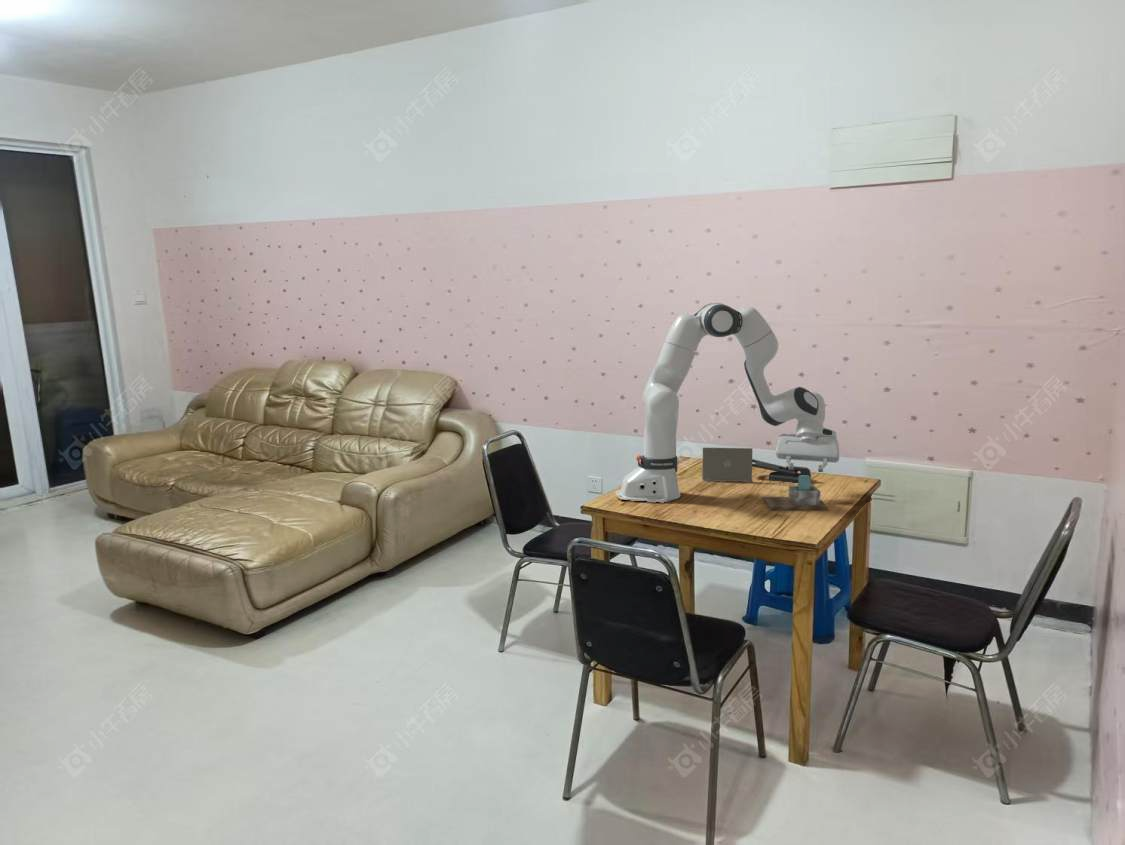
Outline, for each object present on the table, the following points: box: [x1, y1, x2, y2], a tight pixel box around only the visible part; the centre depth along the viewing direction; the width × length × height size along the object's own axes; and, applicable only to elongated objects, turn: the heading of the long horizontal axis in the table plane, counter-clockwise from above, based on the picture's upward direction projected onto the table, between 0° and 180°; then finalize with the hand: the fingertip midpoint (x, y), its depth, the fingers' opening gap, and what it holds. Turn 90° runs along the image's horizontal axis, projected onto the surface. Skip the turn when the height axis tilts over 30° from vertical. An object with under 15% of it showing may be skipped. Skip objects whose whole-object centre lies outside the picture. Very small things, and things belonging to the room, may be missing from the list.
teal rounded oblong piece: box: [797, 475, 812, 491], centre depth 250 cm, size 4×4×8 cm
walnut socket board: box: [762, 484, 829, 512], centre depth 250 cm, size 18×12×6 cm, turn 88°
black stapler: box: [752, 458, 812, 484], centre depth 285 cm, size 9×7×25 cm
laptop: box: [701, 447, 753, 483], centre depth 288 cm, size 18×12×13 cm
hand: (805, 470), depth 251 cm, fingers open, 8 cm apart
